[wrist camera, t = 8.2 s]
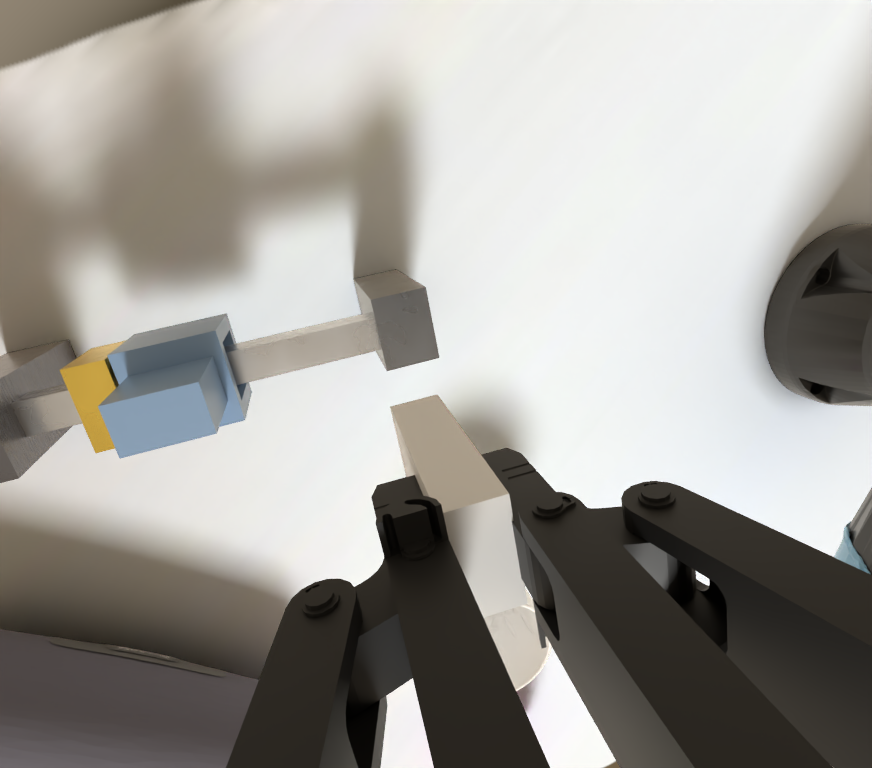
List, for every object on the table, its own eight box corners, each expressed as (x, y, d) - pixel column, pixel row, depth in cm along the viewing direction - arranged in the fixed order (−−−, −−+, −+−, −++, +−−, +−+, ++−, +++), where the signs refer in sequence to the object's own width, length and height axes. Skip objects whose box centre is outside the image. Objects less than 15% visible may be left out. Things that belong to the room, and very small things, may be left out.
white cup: (396, 593, 47) (421, 689, 37) (437, 512, 45) (474, 590, 36) (477, 615, 49) (520, 709, 40) (518, 538, 48) (572, 617, 39)
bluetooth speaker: (-56, 688, 40) (-162, 833, 31) (-16, 580, 38) (-115, 698, 29) (256, 739, 48) (247, 867, 38) (300, 650, 46) (301, 761, 37)
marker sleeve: (226, 313, 32) (201, 351, 23) (251, 391, 33) (236, 454, 25) (134, 334, 31) (72, 382, 22) (164, 413, 33) (117, 486, 24)
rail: (395, 266, 39) (431, 287, 29) (408, 327, 40) (446, 368, 30) (6, 353, 35) (-114, 413, 25) (36, 417, 36) (-66, 500, 26)
